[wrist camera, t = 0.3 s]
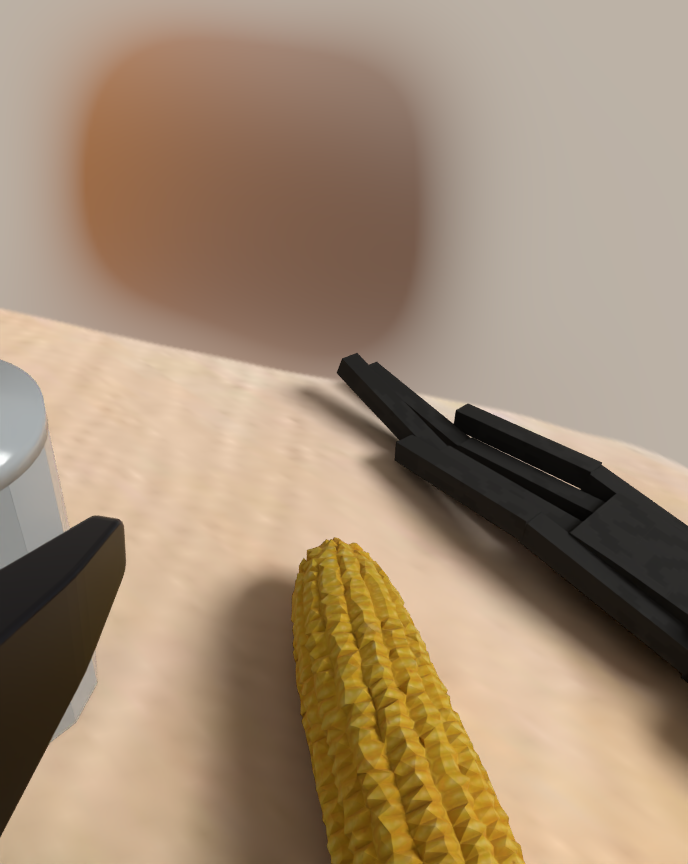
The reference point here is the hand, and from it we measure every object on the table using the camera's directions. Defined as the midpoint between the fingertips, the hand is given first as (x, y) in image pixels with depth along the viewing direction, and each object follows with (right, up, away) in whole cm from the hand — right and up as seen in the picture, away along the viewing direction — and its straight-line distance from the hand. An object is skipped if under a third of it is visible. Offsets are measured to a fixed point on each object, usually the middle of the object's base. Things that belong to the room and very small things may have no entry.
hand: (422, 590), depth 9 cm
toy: (+9, -3, +26) cm, 28 cm away
